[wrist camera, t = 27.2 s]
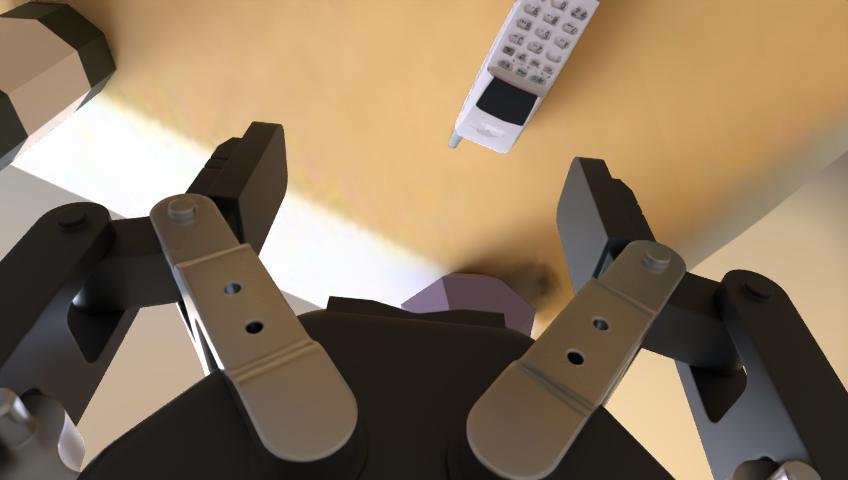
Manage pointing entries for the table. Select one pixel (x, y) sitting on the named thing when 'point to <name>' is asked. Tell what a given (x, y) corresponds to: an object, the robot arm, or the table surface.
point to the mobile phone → (521, 70)
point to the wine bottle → (46, 71)
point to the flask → (474, 299)
